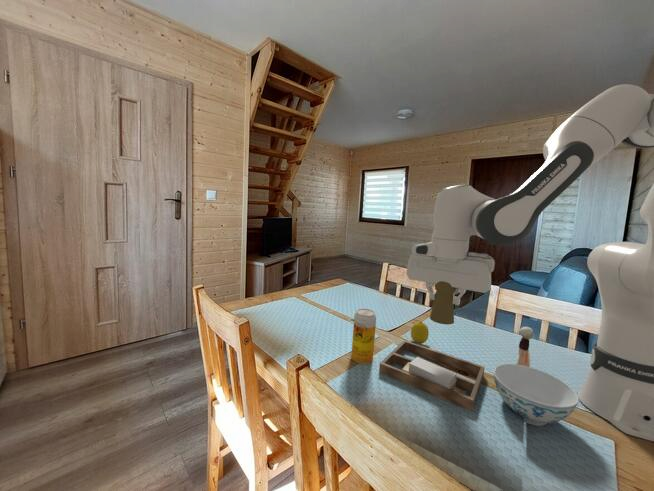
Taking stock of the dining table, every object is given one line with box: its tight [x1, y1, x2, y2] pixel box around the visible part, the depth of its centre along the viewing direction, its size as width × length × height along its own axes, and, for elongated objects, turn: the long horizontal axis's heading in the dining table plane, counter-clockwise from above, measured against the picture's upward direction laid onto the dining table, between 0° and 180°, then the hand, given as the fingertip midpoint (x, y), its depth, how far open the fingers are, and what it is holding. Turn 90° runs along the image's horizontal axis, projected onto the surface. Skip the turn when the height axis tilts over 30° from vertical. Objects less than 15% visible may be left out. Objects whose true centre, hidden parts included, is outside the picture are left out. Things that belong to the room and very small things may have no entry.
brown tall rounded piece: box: [429, 281, 457, 326], centre depth 74 cm, size 6×6×11 cm
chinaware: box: [493, 363, 580, 427], centre depth 63 cm, size 15×15×8 cm
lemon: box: [410, 320, 429, 344], centre depth 93 cm, size 6×6×8 cm
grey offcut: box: [409, 356, 458, 389], centre depth 69 cm, size 10×4×2 cm, turn 47°
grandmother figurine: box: [516, 326, 534, 367], centre depth 81 cm, size 8×4×13 cm, turn 155°
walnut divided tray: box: [378, 339, 486, 412], centre depth 74 cm, size 22×17×4 cm
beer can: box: [350, 308, 377, 364], centre depth 80 cm, size 6×6×15 cm
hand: (443, 301), depth 74 cm, fingers closed on brown tall rounded piece, 4 cm apart
